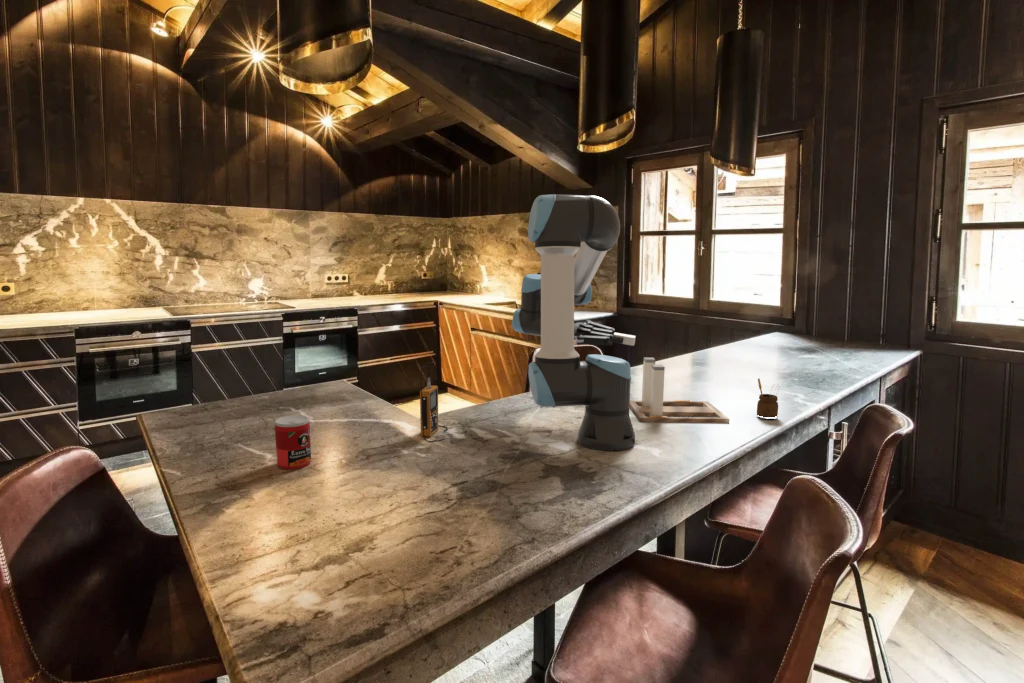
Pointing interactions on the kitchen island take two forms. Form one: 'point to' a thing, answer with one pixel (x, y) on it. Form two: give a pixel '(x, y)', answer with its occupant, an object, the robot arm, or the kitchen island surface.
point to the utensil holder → (767, 403)
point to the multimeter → (429, 409)
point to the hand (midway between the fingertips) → (634, 340)
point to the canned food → (293, 442)
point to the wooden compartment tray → (680, 412)
